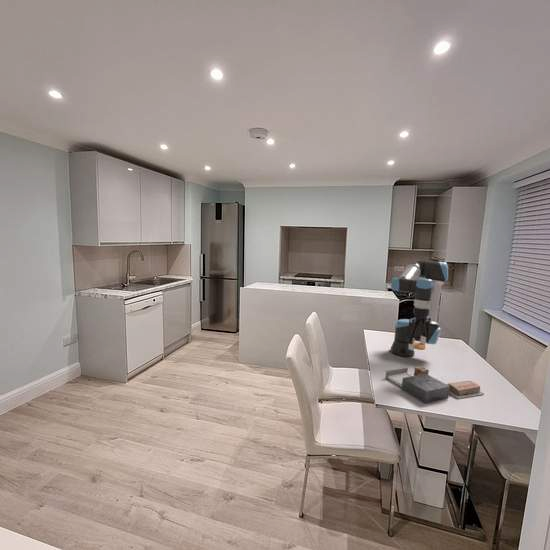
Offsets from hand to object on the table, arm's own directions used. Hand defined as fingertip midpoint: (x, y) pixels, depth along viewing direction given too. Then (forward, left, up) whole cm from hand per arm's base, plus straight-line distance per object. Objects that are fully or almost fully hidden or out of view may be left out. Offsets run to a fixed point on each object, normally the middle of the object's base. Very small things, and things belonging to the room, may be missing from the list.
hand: (416, 348), depth 160 cm
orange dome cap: (0, 0, +1) cm, 1 cm away
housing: (+12, -6, -18) cm, 23 cm away
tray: (0, -6, -18) cm, 19 cm away
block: (-2, +8, -18) cm, 20 cm away
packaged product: (+18, +15, -19) cm, 30 cm away
